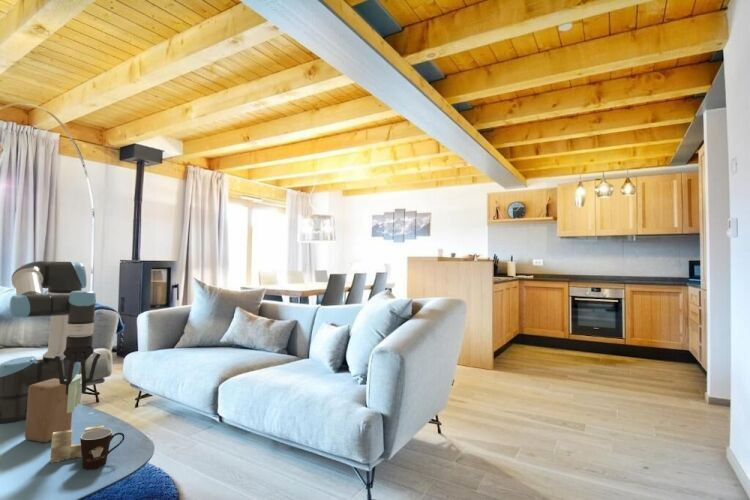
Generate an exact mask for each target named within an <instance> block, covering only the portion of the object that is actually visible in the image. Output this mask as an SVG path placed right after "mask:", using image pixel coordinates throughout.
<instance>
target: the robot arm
mask: <svg viewBox="0 0 750 500" xmlns="http://www.w3.org/2000/svg"><path fill="white" fill-rule="evenodd" d="M11 285H12V286H13V287H14V288H15V293H16V295H13V296H11V298H10V303H9V316H10V317H11V318H22V319H25V318H36V317H37V318H39V317H50V320H49V321H50V322H49V333H48V346H47V351H46V352H45V353H44V354H42V358H41V359H37V357H36V356H23V357H16V358H13V359H9V360H7V361H3V362H2V363H1V364H0V424H5V423H13V422H19V421H23V420H26V416H27V402H28V389H29V386H30V385H32V384H35V383H39V382H43V381H46V380H50V379H53V378H56V379H59V381H60V384H65V385H66V395H68V388H69V384H70V383H71V381H72V380H73V379H74V377H75V376H76V375H77V374H79V373H80V372H81V373H80V374H81V376H82V383H80V384H79V394H78V405H80V404H82V401H83V394H85V393H86V392H87V387H88V386H87V385H88V383H90V382H93V380H94V377H95V374H96V373H95V372H96V370H97V369H96V368H97V365H98V361H99V359H100V357H101V355H102V352H99V351H96V350H95V349H94V346H93V345H94V344H93V341H94V335H93V333H94V329H95V328H94V327H95V310H96V303H97V299H96V298H97V297H96V292H95V291H93V290H82V289H86V287H87V273H86V268H85V266H84V264H83V263H82V262H78V261H77V262H76V261H48V260H47V261H46V260H40V261H39V260H37V261H32V262H28V263H26V264H23V265H21V266H20V267H18V268H17V269H15V271H14V272H13V273H12V275H11ZM44 289H47V293H48V294H45V293H44ZM91 355H92V359H93V360H92V362H91V363H92V364H91V366H90V367H91V368H90V370H89V376H88V373H87V371H88V370H87V369H88V368H87V365H88V364H87V363H88V362H87V360H89V358H90V356H91ZM80 370H81V371H80ZM79 371H80V372H79Z"/></svg>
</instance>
